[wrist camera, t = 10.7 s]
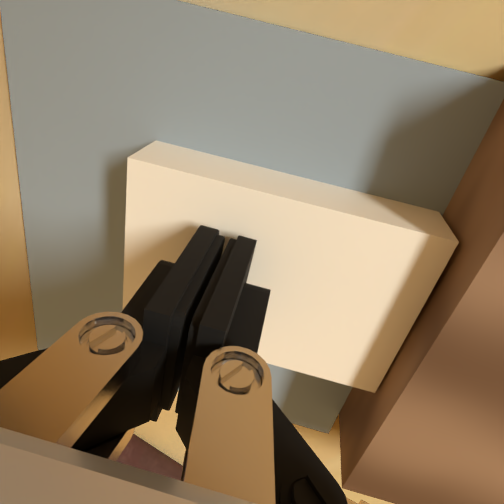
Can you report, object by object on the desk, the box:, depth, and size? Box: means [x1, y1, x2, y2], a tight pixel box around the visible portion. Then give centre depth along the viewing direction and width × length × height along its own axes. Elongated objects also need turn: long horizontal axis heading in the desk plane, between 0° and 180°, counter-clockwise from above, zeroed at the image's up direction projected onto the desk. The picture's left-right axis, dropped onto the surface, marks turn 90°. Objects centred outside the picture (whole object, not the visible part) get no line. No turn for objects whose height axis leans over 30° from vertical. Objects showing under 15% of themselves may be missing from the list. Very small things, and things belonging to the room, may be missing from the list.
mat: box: [0, 0, 504, 434], centre depth 14 cm, size 15×14×1 cm
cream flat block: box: [123, 141, 459, 393], centre depth 12 cm, size 6×9×2 cm, turn 78°
